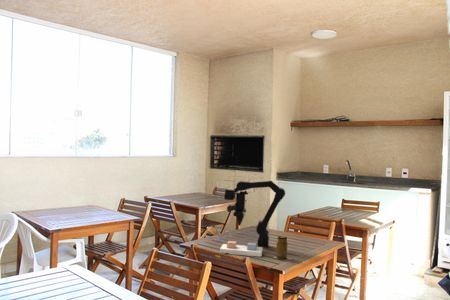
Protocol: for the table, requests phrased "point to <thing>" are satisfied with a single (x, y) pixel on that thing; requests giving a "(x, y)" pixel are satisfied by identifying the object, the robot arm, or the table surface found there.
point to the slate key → (251, 246)
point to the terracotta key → (231, 244)
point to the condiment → (282, 248)
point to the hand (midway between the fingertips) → (239, 225)
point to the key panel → (241, 250)
